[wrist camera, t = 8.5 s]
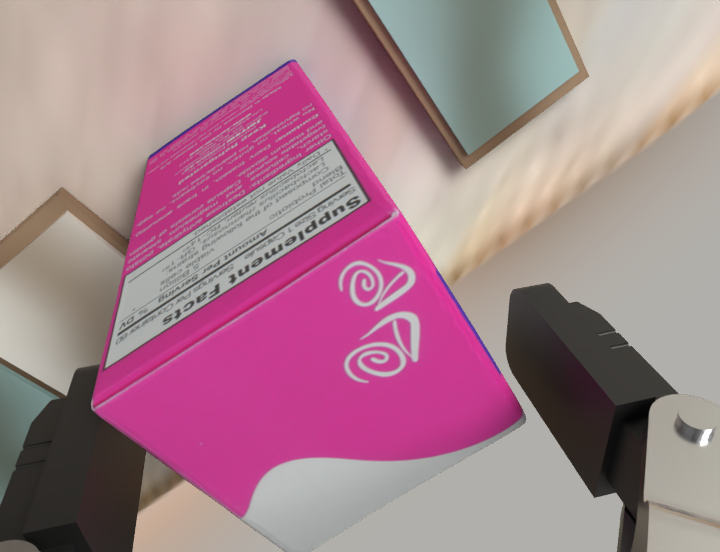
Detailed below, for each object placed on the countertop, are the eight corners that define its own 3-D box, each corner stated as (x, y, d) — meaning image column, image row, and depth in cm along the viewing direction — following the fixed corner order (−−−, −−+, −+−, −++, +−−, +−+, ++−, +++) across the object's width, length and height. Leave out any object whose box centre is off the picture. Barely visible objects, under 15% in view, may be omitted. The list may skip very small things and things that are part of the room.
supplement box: (387, 192, 20) (538, 433, 11) (251, 278, 21) (283, 574, 12) (298, 47, 17) (405, 213, 8) (140, 154, 18) (63, 426, 8)
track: (17, 498, 24) (11, 515, 24) (-189, 406, 20) (-203, 423, 19) (579, 72, 20) (592, 77, 19) (470, -171, 15) (481, -174, 15)
